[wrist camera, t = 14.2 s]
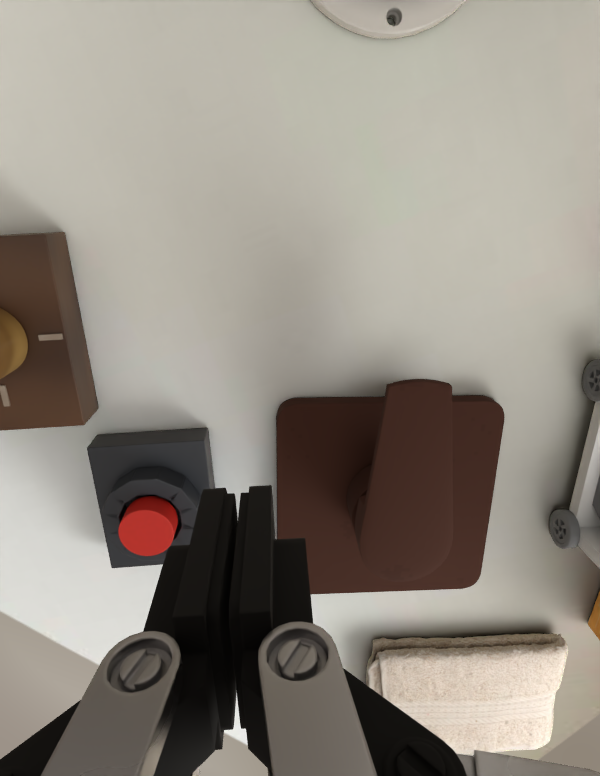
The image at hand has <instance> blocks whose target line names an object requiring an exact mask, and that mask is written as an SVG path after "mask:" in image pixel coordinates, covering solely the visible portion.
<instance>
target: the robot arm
mask: <svg viewBox="0 0 600 776" xmlns="http://www.w3.org/2000/svg"><path fill="white" fill-rule="evenodd" d="M311 1H312V3H313V4H314V5H315V6H316V7H317V9H318V10H320V11H321V12H322V13H323V14H325V15H326V16H327V17H328V18H330V19H331V20H332V21H333V22H335V23H336V24H338V25H340V26H342V27H344V28H346V29H348V30H350V31H352V32H354V33H357V34H360V35H364V36H368V37H372V38H390V39H396V38H401V37H406V36H411V35H416V34H418V33H420V32H422V31H425V30H427V29H429V28H432V27H434V26H436V25H437V24H439V23H440V22H441V21H443V20H444V19H446V18H447V17H449V16H450V15H451V14H453V13H454V12H455V11H456V10H457V9H458V8H459V7H460V6H461V5H462V4H463V3H464V2H465V1H466V0H311ZM388 18H393V19H394V22H395V24H394V26H391V25H389V23H388V22H387V19H388ZM236 690H237V698H238V707H239V716H240V724H241V729H244V728H246V732H247V741H248V749H249V750H250V751H251V752H252V753H253V754H254V755H255V756H256V757H257V758H258V759H259V760H260V761H261V762H262V763H263V764H264V765H265V766H266V767H267V768H268V776H600V773H599V772H596V771H593V770H590V769H586V768H580V767H574V766H568V765H562V764H556V763H550V762H544V761H538V760H532V759H527V758H521V757H515V756H509V755H503V754H497V753H491V752H485V751H479V750H474V755H473V756H468V755H463V754H457V753H455V751H454V750H453V749H452V748H451V747H450V746H448V745H447V744H446V743H445V742H444V741H443V740H442V739H440V738H439V737H438V736H436V735H435V734H434V733H432V732H431V731H429V730H428V729H427V728H425V727H424V726H422V725H421V724H420V723H418V722H417V721H416V720H414V719H413V718H411V717H410V716H409V715H407V714H406V713H404V712H403V711H402V710H400V709H399V708H398V707H396V706H395V705H393V704H392V703H391V702H389V701H388V700H387V699H385V698H384V697H382V696H381V695H380V694H378V693H377V692H375V691H374V690H373V689H371V688H370V687H369V686H367V685H366V684H364V683H363V682H362V681H360V680H359V679H357V678H356V677H355V676H353V675H352V674H351V673H349V672H348V671H346V670H345V669H344V668H343V667H342V664H341V660H340V657H339V654H338V651H337V648H336V645H335V643H334V641H333V639H332V637H331V636H330V635H329V634H328V633H327V632H326V631H325V630H324V629H323V628H321V627H319V626H317V625H315V624H313V618H312V607H311V596H310V585H309V574H308V563H307V552H306V541H305V538H290V539H275V527H274V512H273V496H272V485H269V486H251V487H249V493H241V497H240V507H239V516H238V520H237V510H236V499H235V494H234V493H233V494H227V491H226V488H216V489H203V491H202V494H201V498H200V503H199V507H198V511H197V515H196V519H195V524H194V528H193V532H192V536H191V541H190V545H174V546H170V547H169V548H168V550H167V553H166V556H165V560H164V563H163V567H162V570H161V573H160V577H159V580H158V584H157V587H156V590H155V594H154V597H153V600H152V604H151V607H150V611H149V614H148V617H147V621H146V624H145V628H144V631H143V632H141V633H138V634H134V635H131V636H129V637H127V638H126V639H124V640H122V641H120V642H119V643H118V644H116V645H115V646H114V647H113V648H112V649H111V650H110V651H109V652H108V653H107V655H106V656H105V657H104V659H103V660H102V662H101V664H100V666H99V667H98V669H97V671H96V673H95V675H94V677H93V679H92V681H91V683H90V684H89V686H88V688H87V690H86V692H85V694H84V696H83V697H82V700H80V701H79V702H77V703H76V704H75V705H73V706H72V707H71V708H69V709H68V710H67V711H65V712H64V713H63V714H61V715H60V716H59V717H57V718H56V719H54V720H53V721H52V722H50V723H49V724H48V725H46V726H45V727H44V728H42V729H41V730H40V731H38V732H37V733H35V734H34V735H33V736H31V737H30V738H29V739H27V740H26V741H25V742H23V743H22V744H21V745H19V746H18V747H17V748H15V749H14V750H12V751H11V752H10V753H9V754H7V755H6V756H4V757H3V758H2V759H0V776H199V774H200V768H199V766H200V765H201V764H202V763H203V762H204V761H205V760H206V759H207V758H208V757H209V756H210V755H211V754H212V753H213V752H214V751H215V750H218V749H222V745H223V734H224V730H230V729H233V727H234V717H235V703H236Z"/></svg>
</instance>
